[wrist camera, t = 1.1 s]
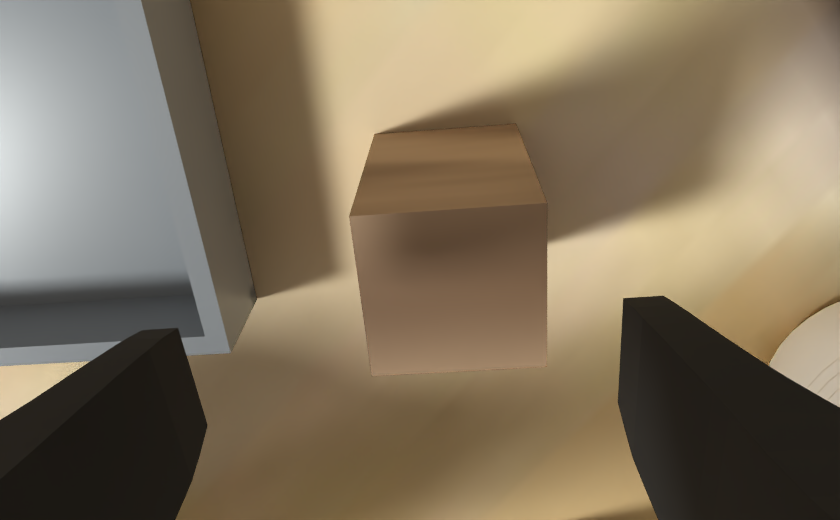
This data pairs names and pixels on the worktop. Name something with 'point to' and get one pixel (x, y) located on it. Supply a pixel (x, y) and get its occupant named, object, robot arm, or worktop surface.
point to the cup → (813, 354)
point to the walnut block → (451, 252)
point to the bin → (112, 184)
